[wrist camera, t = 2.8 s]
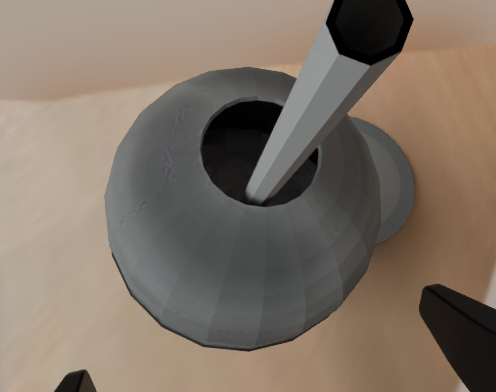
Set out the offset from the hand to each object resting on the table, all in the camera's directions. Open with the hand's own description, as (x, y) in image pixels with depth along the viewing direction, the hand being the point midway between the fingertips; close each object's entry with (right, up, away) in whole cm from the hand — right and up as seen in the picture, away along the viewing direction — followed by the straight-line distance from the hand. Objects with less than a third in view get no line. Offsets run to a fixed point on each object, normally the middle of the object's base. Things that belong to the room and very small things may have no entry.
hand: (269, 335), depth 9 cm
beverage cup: (-2, -1, +12) cm, 12 cm away
